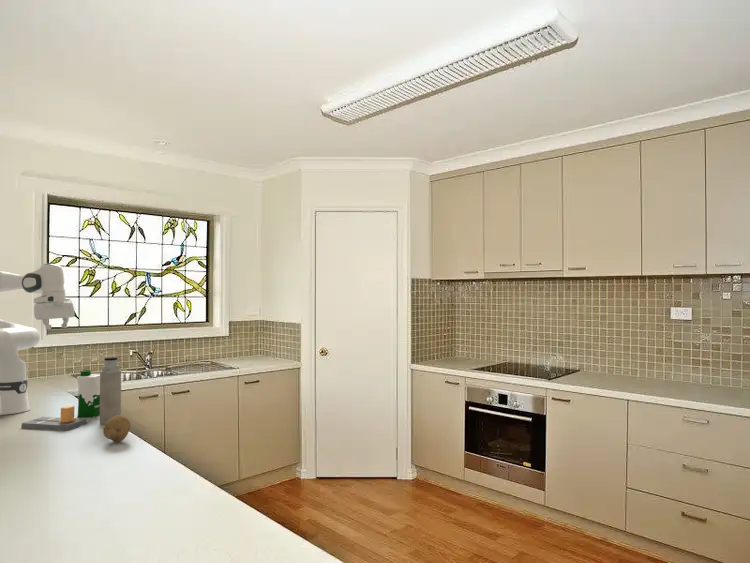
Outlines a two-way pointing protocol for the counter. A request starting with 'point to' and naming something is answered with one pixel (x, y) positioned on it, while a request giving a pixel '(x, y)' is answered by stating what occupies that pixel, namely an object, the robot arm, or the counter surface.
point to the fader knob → (67, 414)
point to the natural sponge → (117, 428)
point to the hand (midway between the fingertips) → (56, 328)
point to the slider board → (53, 423)
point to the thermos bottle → (110, 390)
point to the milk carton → (88, 394)
